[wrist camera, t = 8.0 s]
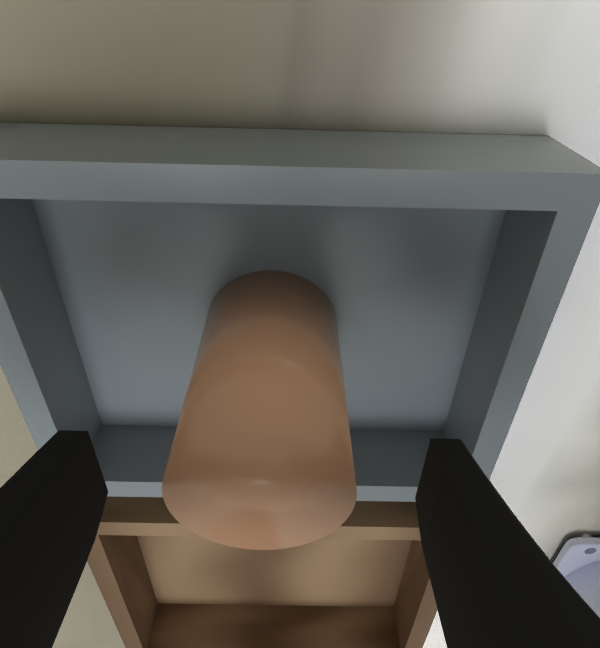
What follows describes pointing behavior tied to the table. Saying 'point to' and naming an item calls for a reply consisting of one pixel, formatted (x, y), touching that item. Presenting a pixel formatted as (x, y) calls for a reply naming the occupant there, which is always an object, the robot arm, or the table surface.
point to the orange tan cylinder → (264, 420)
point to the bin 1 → (288, 256)
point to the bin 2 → (264, 582)
